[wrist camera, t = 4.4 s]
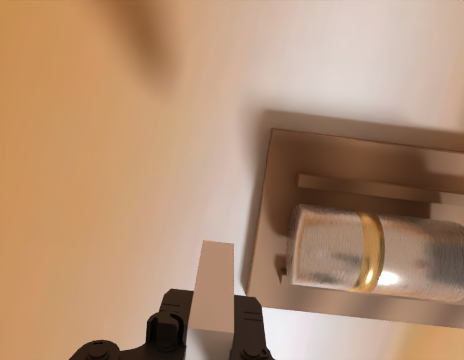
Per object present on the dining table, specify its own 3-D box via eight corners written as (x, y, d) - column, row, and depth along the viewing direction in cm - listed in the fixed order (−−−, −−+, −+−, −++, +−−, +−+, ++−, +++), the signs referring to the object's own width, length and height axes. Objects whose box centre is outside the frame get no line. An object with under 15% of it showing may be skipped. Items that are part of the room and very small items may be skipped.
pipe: (282, 260, 27) (294, 302, 22) (294, 192, 25) (310, 219, 20) (419, 276, 27) (462, 320, 22) (438, 209, 26) (488, 240, 21)
